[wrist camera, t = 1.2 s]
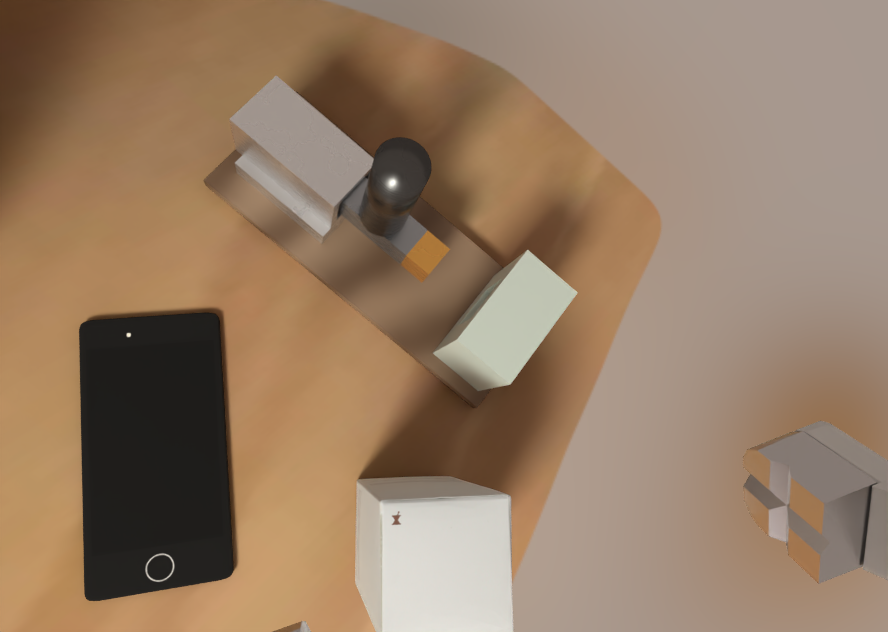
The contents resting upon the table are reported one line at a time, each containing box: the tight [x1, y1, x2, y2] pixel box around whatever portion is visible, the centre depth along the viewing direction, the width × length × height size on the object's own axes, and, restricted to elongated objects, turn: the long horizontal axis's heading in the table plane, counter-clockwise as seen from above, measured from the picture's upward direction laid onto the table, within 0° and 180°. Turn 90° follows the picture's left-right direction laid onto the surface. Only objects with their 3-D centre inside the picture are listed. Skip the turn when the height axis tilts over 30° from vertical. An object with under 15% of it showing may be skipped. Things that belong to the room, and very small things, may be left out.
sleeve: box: [229, 76, 374, 244], centre depth 42 cm, size 9×6×6 cm
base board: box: [204, 91, 503, 408], centre depth 46 cm, size 26×10×1 cm, turn 51°
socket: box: [433, 250, 577, 391], centre depth 43 cm, size 4×8×7 cm, turn 141°
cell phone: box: [79, 313, 234, 601], centre depth 41 cm, size 9×18×1 cm, turn 6°
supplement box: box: [355, 476, 514, 632], centre depth 38 cm, size 7×7×13 cm
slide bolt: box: [338, 137, 450, 283], centre depth 38 cm, size 15×3×10 cm, turn 51°
